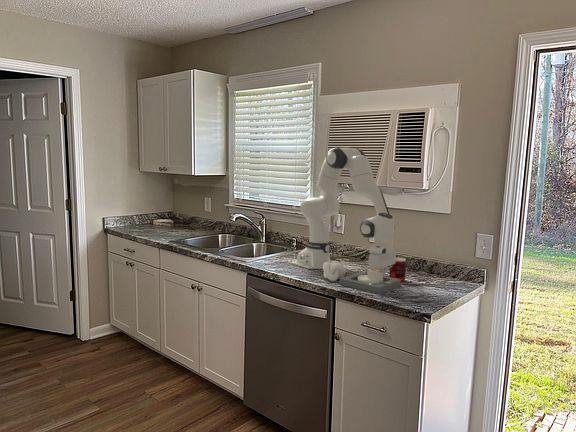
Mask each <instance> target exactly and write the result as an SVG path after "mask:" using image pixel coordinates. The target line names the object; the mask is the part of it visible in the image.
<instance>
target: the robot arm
mask: <svg viewBox="0 0 576 432" xmlns="http://www.w3.org/2000/svg"><path fill="white" fill-rule="evenodd" d="M343 170H348V172H349V177H350V183H351V187H352V189H353V191H354V192H355V193H357V194H358V195H360V196H363V197H365V198H366V199H368V200H370V201H371V203H372V204H373V206H374V209H375V212H376V215H375V216H373V217H369V218H364V219H363V220H362V221H360V225H359V230H360V231H359V232H360V234H361V236H363V237H364V238H366V239H374V243H373V244H372V245H371V247H370V248H368V253H369V255H368V256H369V257H368V268H369V269H371V270H375V271H379V272H383V276H386V271H387V269H388V267H390V265H393V264H395V262H396V257H397V256H396V255H397V253H396V250H395V247H394V234H395V226H396V225H395V219H394V216H393V215H392V214H390V212H389V209H388V206H387V203H386V200H385V197H384V194H383V192H382V190H381V188H380V187H379V186H378V184H377V182H376V181H375V178H374V174H373V169H372V166H371V163H370V162H369V159H368V157H367V156H366V154H365V153H364V151H363V150H361V149H359V148H353V147H352V148H351V147H332V148H331V149H329V150H328V152H327V154H326V157H325V159H324V161H323V162H322V165H321V169H320V171H319V174H318V178H317V181H316V188H317V189H318V190H319V191H320V194H319V197H309V198H306V199H303V200H302V201H301V203H300V207H299V210H300V213H301V215H303V216H304V218H305V219H306V221H307V223H308V228H309V240H308V241H305V245H306V247H305V248H303V249H302V250H301V251H299V252H298V254H297V256H296V260H294V261H292V265H295V266H299V267H302V268H304V269H309V270H315V269H317V270H319V269H320V270H323V264H324V263H325V262H329V263H330V262H331V260H330V249H331V242H330V227H329V226H328V225H327V224H326V223H325V221H324V217H325V218H326V217H327V218H328V217H332V216H334V215H337V214H338V213H339V212H340V209H341V203H340V202H339V201H340V200H338V198H337V189H338V184H339V182H340V178H341V174H342V172H343Z"/></svg>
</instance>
